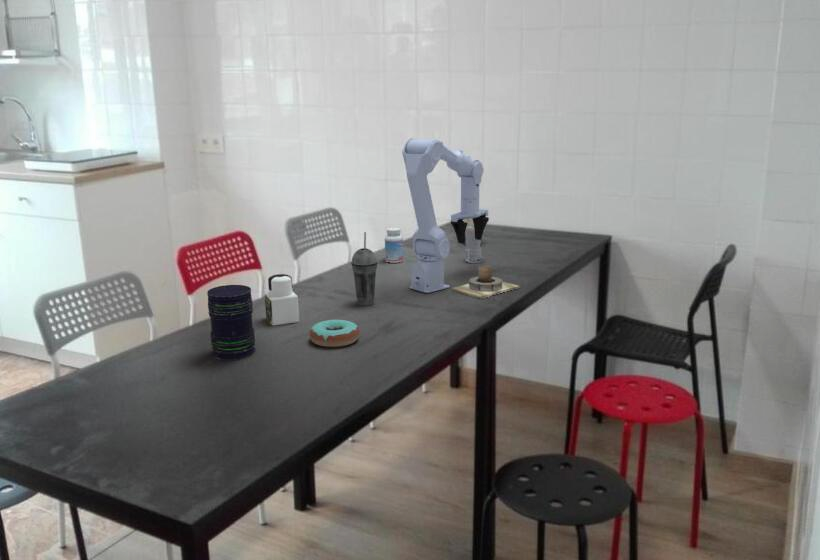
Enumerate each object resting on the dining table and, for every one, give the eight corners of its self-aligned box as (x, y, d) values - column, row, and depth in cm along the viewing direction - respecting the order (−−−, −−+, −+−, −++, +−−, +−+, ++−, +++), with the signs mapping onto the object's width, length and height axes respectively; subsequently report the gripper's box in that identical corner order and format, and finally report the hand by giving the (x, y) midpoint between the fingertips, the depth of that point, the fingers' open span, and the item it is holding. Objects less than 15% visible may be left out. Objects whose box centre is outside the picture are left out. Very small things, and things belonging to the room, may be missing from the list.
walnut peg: (484, 289, 220) (484, 269, 219) (475, 286, 223) (475, 266, 222) (494, 287, 222) (495, 267, 221) (486, 284, 225) (486, 264, 224)
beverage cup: (348, 305, 209) (345, 234, 204) (358, 298, 216) (356, 229, 211) (372, 308, 207) (370, 236, 202) (382, 300, 213) (380, 230, 208)
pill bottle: (403, 263, 255) (402, 230, 252) (384, 263, 255) (384, 230, 252) (403, 259, 261) (402, 227, 258) (385, 259, 261) (385, 227, 258)
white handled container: (265, 318, 200) (262, 274, 197) (292, 314, 202) (289, 271, 199) (272, 326, 193) (269, 280, 190) (299, 322, 196) (297, 277, 193)
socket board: (481, 299, 213) (481, 289, 213) (451, 290, 222) (451, 281, 222) (519, 288, 224) (519, 279, 223) (489, 280, 232) (489, 271, 232)
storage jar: (215, 363, 169) (210, 298, 165) (208, 349, 178) (203, 287, 174) (260, 356, 173) (255, 293, 169) (251, 342, 181) (246, 282, 177)
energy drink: (481, 259, 258) (481, 225, 255) (481, 263, 253) (481, 228, 250) (465, 259, 259) (466, 225, 256) (465, 263, 254) (465, 228, 251)
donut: (348, 330, 190) (347, 314, 189) (367, 344, 180) (367, 328, 179) (302, 338, 185) (302, 322, 184) (320, 353, 175) (319, 336, 174)
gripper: (462, 202, 227) (462, 246, 231) (495, 197, 237) (495, 239, 240) (446, 199, 233) (446, 243, 236) (479, 194, 242) (478, 236, 245)
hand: (469, 241), depth 239 cm, fingers open, 7 cm apart
